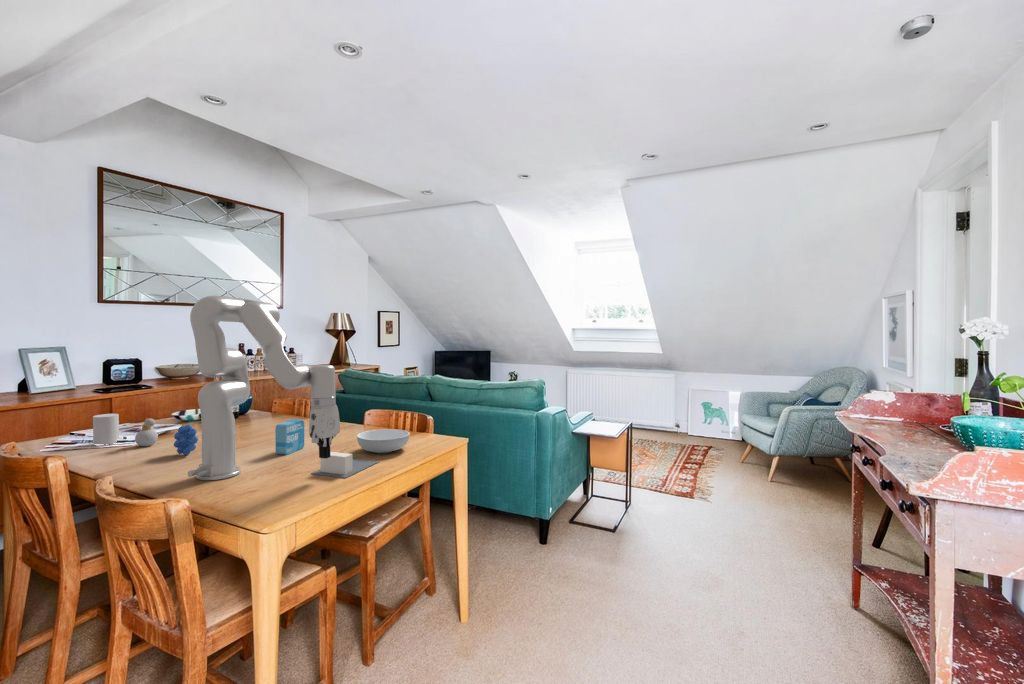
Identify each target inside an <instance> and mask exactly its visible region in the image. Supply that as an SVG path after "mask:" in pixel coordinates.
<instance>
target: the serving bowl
mask: <svg viewBox="0 0 1024 684" xmlns="http://www.w3.org/2000/svg"><path fill="white" fill-rule="evenodd" d="M410 435H411V434H410V432H409V431H407V430H404V429H397V428H395V429H393V428H391V429H390V428H389V429H388V428H385V429H380V428H379V429H372V430H367V431H363V432H360V433H357V435H356V440H357V443H358V445H359V447H361V448H362V450H365V451H366V452H367V451H368V452H371V453H374V454H375V453H376V454H388V453H389V454H390V453H392V451H393V452H394V451H398V450H400V449H402V448H403V447H404V446H406V445H407V444H408V442H409V440H410Z"/></svg>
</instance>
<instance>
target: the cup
mask: <svg viewBox="0 0 1024 684" xmlns="http://www.w3.org/2000/svg"><path fill="white" fill-rule="evenodd" d="M119 416H120V415H119V413H103V414H96V415H93V416H92V439H93V440H92V441H93V442H92V444H93V443H94V444H104V445H106V444H113V443H116V442H117V439H118V438H119V439H120V421H119V419H120V417H119Z"/></svg>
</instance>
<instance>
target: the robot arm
mask: <svg viewBox="0 0 1024 684" xmlns="http://www.w3.org/2000/svg"><path fill="white" fill-rule="evenodd" d="M280 316H281V315H280V311H279V309H278V308H277V307H276V306H275V305H274V304H272V303H270V302H264V301H263V302H262V301H259V300H258V301H256V300H250V299H245V298H240V297H233V296H232V297H231V296H225V295H224V296H222V295H208V296H205V297H202V298H200V299H199V300H198V301H196V302H195V303H194V305H192V308H191V311H190V316H189V317H190V318H189V319H190V325H191V328H192V332H193V336H194V342H195V343H194V344H195V345H194V346H195V351H196V359H197V365H198V370H199V373H201V375H202V376H204V377H207V378H218V377H219V378H220V377H221V380H216V381H215V380H214V381H211V382H208V383H207V384H204V386H202V387H201V389H199V391H198V396H197V403H198V407H199V410H200V419H201V463H199V464H198V467H196V469H192V470H188V471H187V476H188V477H189V478H192V477H194V476H196V479H198V480H200V481H216V480H217V481H218V480H223V479H224V480H225V479H230V478H232V477H235V476H237V475H239V474H240V473H241V471H242V470H241V467H239V466H236V419H235V415H234V413H233V410H232V407H235V406H239V405H242V404H244V403H245V402H246V401H247V400H248V399H249V397H250V394H251V384H250V378H249V371H248V363H247V360H246V358H245V355H244V354H243V353H242V351H240V350H238V349H236V348H233V347H232V348H231V347H227V343H226V336H225V333H224V331H223V329H222V328H221V326H220V324H219V323H220V322H228V323H230V322H231V323H232V322H233V323H241V324H243V325H244V327H245V328H246V330H247V331H248V332H249V333H250V335H251V336H252V337H253V339H254V340H255V341H256V343H258V345H259V347H260V348H261V349H262V355H263V361H264V365H265V367H266V369H267V371H268V372H269V373H270V375H271V376H272V377H273V379H274V380H275V381H276V382H277V383H278V384H279V386H281V387H282V388H284V389H287V390H296V389H301V388H304V387H310V406H311V407H310V411H309V420H308V422H309V423H308V431H309V432H308V433H309V437H310V438H311V443H312V444H316V445H317V447H318V458H329V457H330V452H331V445H332V442H333V439H334V438H336V437H337V435H338V434H339V433H340V432H341V424H340V423H341V420H340V412H339V408H338V405H337V403H336V399H337V398H336V393H337V392H336V368H335V367H334V365H331V364H319V365H314V364H309V363H304V364H295V365H294V364H293V363H292V361H291V360H290V359H289V358H288V356H287V354H286V353H285V350H284V344H285V342H286V340H287V339H288V336H287V334H286V332H285V331H284V330H283V329H282V327H281V326H280V324H279V321H280V318H281V317H280Z"/></svg>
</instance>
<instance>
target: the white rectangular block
mask: <svg viewBox="0 0 1024 684" xmlns="http://www.w3.org/2000/svg"><path fill="white" fill-rule="evenodd" d="M352 458H353V453H347V452H336V451H330V457H329V458H320V459H319V462H320V472H328V473H336V474H344V475H345V474H348V473H350V472H352Z"/></svg>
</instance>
